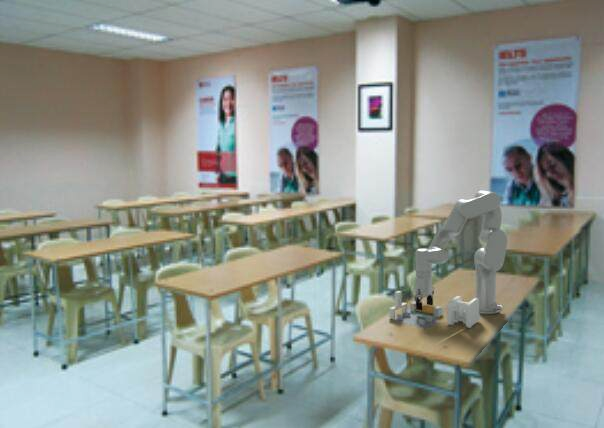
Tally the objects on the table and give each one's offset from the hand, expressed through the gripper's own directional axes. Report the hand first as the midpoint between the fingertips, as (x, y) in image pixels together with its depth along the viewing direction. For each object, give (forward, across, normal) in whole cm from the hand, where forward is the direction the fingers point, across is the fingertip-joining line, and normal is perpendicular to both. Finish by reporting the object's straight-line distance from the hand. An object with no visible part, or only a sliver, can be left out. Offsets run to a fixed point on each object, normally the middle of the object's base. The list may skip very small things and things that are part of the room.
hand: (424, 307), depth 254 cm
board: (+3, +13, +3) cm, 14 cm away
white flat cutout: (+3, +13, -6) cm, 15 cm away
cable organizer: (+4, +2, +22) cm, 22 cm away
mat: (+3, 0, 0) cm, 3 cm away
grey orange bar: (+3, 0, +1) cm, 3 cm away
